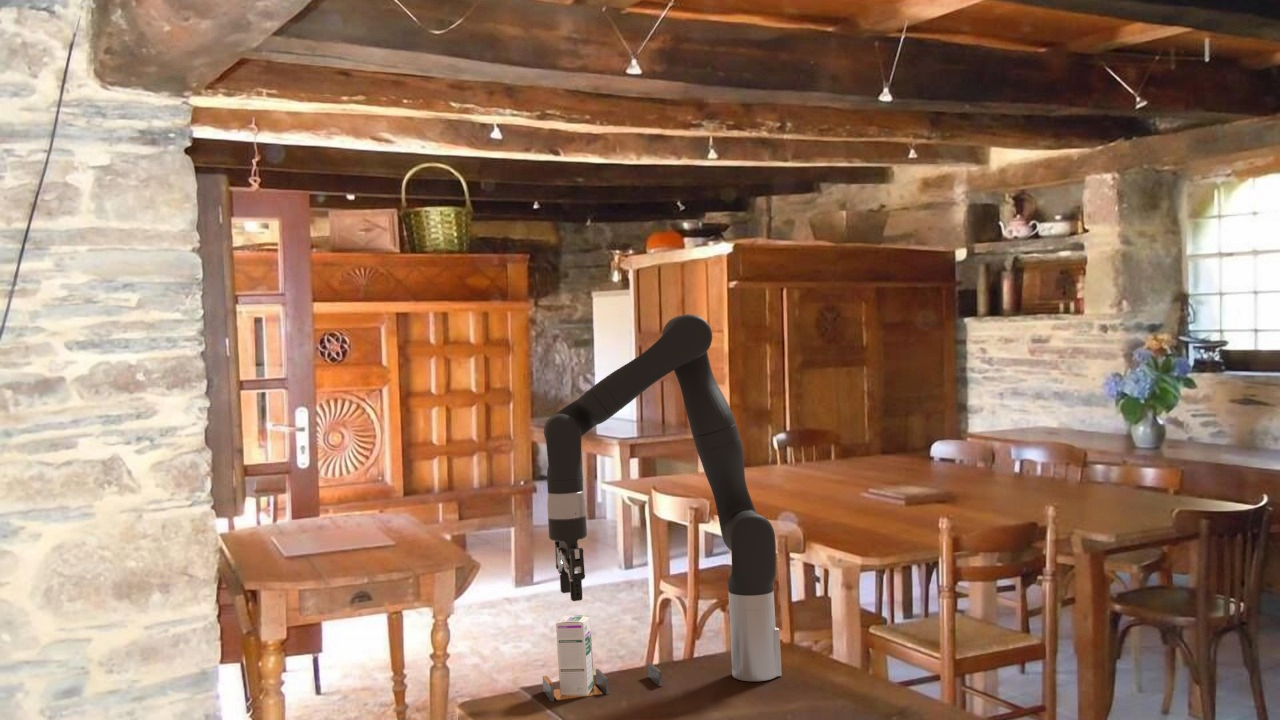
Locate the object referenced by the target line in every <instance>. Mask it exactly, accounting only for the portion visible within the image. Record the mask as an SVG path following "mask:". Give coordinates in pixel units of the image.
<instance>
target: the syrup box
mask: <svg viewBox="0 0 1280 720" xmlns="http://www.w3.org/2000/svg"><path fill="white" fill-rule="evenodd" d="M555 626H556V627H555V629H556V647H557V648H556V649H557V663H558V664H557V665H558V675H559V676H558V680H559V689H560V695H565V696H585V697H589V696H588V694H589V693H590V691H591V690H592V689H593V687H594V685H595V680H594V679H595V678H594V675H595V674H594V664H593V646H592V630H591V617H590V615H583V614H582V615H579V614H578V615H577V614H575V615H564V616H563V615H562V617H561V619H559V620H558V621H557V622H556V624H555Z"/></svg>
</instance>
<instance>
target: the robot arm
mask: <svg viewBox="0 0 1280 720" xmlns="http://www.w3.org/2000/svg"><path fill="white" fill-rule="evenodd" d="M712 342H713V331H712V329H711V326H710V324H709V323H708V321H707V320H705V319H704V318H703V317H701V316H698V315H695V314H682V315H678V316H675V317H673V318H671V319H670V320H668V322H666V324H665V326H664V327H663V331H662V335H661V336H660V337H659V338H658V340H657V341H656V342H655V343H654V344H652V345H651V346H650V347H648V348H647V349H646V350H645V351H644V352H642V353H641V354H640V355H638V356H637V357H635V358H634V359H632V360H631V361H629V362H628V363H626V364H623V365H622V366H621V367H619V368H617V369H616V370H614V371H613V372H611V373H610V374H608V375H607V376H605V377H603V379H601V380H600V381H598V382H597V383H596V384H594V385H593V386H592V387H590V388H589V389H588V390H587V391H585V392H584V393H583V394H582V395H581V396H580V397H579V398H578V399H576V400H574V401H572V402H571V403H569V404H568V405H566V406H565V407H563V408H562V409H560V410H559V411H557V412H555V413H554V414H553V415H552V416H551V417H549V418H548V419H547V420H546V421H545V424H544V427H543V436H544V439H545V444H546V453H547V465H548V466H547V471H546V480H547V481H546V482H547V484H546V485H547V486H546V487H547V501H546V502H547V508H546V509H547V522H548V523H547V524H548V525H547V526H548V527H547V528H548V538H549V539H550V540H551V541H554V547H555V549H554V550H555V552H554V553H555V568H556V570H557V573H558V574H559V580H560V581H559V582H560V583H559V586H560V592H561V594H570V595H569V596H570V600H571V601H572V602H578V601H579V602H580V601H582V600H583V584H582V583H583V582H582V581H583V580H585V578H586V573H585V572H586V570H585V563H584V562H585V561H584V560H585V559H584V549H583V547H579V544H578V541H579V540H584V539H585V538H586V537H587V535H588V529H587V512H586V511H587V509H586V500H585V495H584V482H583V472H582V437H583V436H584V435H586V433H588V432H589V431H590V430H592V429H593V428H594V427H596V426H598V425H600V424H602V423H604V422H606V421H608V420H609V419H610V418H612V417H613V416H614V415H615V414H617V413H618V412H619V411H621V410H623V408H624V407H626V406H627V405H629V404H630V403H631V402H633V400H635V399H636V398H637V397H639V396H640V395H641V394H642V393H643V392H645V391H646V390H647V389H648V388H650V387H651V386H652V385H654V384H656V382H658V381H659V380H660V379H662V378H664V377H665V376H666V375H668V374H670V373H672V372H673V371H674V374H675V377H676V379H677V381H678V384H679V387H680V391H681V394H682V399H683V405H684V407H685V412H686V416H687V420H688V424H689V426H690V427H689V428H690V430H691V434H692V439H693V442H694V445H695V448H696V451H697V453H698V456H699V459H700V462H701V465H702V468H703V471H704V473H705V476H706V480H707V482H708V484H709V487H710V488H711V489H710V490H711V492H712V495H713V499H714V502H715V507H716V511H717V512H716V513H717V517H718V522H719V527H720V532H721V537H722V540H723V542H724V544H725V546H726V547H727V548H728V550H729V551H731V552H730V553H731V571H730V572H731V573H730V575H729V577H728V578H727V587H728V589H727V590H728V610H729V611H728V612H729V613H728V614H729V632H730V636H729V637H730V654H731V658H730V659H731V672H732V673H731V675H732V677H733V678H734V679H736V680H739V681H744V682H764V681H769V680H773V679H775V678H777V677H782V656H781V655H782V654H781V636H780V635H781V634H780V632H781V631H780V628H778V627H776V615H775V613H776V612H775V611H776V610H775V594H774V593H775V591H774V589H775V587H774V583H775V579H776V576H777V575H776V574H777V556H776V555H777V553H776V552H777V551H776V549H777V548H776V546H777V545H776V535H775V529H774V527H773V525H772V523H771V522H770V521H769V520H768V519H767V517H765V516H764V515H762V514H759V513H758V511H757V510H756V507H755V506H754V504H753V503H754V502H753V500H752V498H751V496H750V493H749V490H748V486H747V483H746V482H747V481H746V475H745V454H744V447H743V442H742V438H741V435H740V432H739V429H738V426H737V421H736V418H735V417H734V416H735V415H734V414H733V411H732V409H731V406H730V404H729V403H728V401H727V400H726V398H725V396H724V393H723V392H722V391H721V389H720V387H719V385H718V383H717V381H716V379H715V376H714V374H713V370H712V367H711V363H710V359H709V354H708V350H709V349H710V347H711V345H712ZM575 572H577V573H575Z"/></svg>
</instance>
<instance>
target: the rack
mask: <svg viewBox="0 0 1280 720" xmlns="http://www.w3.org/2000/svg"><path fill="white" fill-rule="evenodd" d="M646 664H647V678H649V679H650V678H651V679H652V680H653V681H654V684H655V685H657V684H658V685H659V686H662V687H663V677H662V670H660V669H659V668H658V667H657V666H655V665H654V664H653V663H651V662H650V661H647V663H646ZM595 679H596V680H595V682H596V685H597V686H598V687H597V686H596V685H595V684H594V687H593V689H592V690H591V691H590V693H589V694H588V696H587V697H591V696H597V695H603V692H604V693H605V694H606V695H609V694H610V690H609V687H610V686H609V678H608V677H607V676H606V675H605V674H604V673H603V672H602V671H601V670H600V669H599V668H596V669H595ZM651 679H650V680H651ZM652 680H651V681H652ZM653 681H652V682H653ZM658 685H657V686H658ZM659 686H658V687H659ZM599 688H600V689H599ZM542 691H543V693H544V695H546V697H547V698H548V699H549V701H550V702H551V703H554V702H555V700H556V701H561V700H562V701H563V700H568V699H576V698H583V697H586V696H565V695H560V688H556V689H555V688H554V685H553V681H552V680H551V679H550V677H549V676H548V675H543V676H542Z"/></svg>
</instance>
